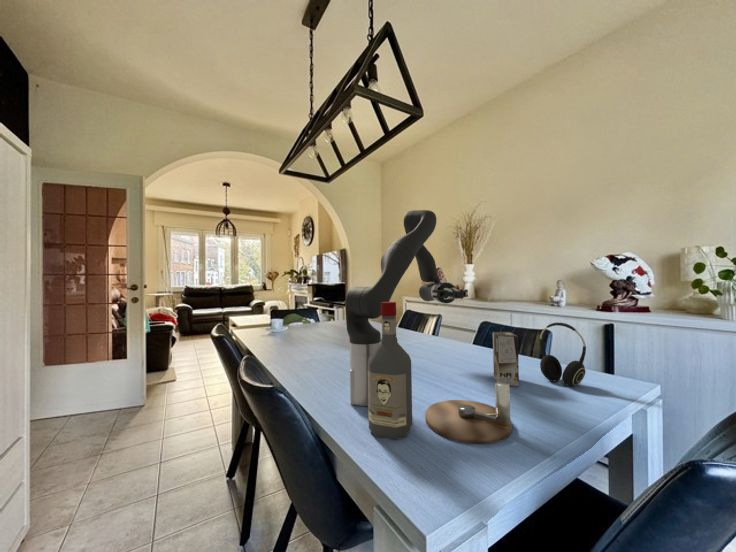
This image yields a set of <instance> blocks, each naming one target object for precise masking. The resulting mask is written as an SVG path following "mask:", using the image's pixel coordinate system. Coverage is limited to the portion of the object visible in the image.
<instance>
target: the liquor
mask: <svg viewBox="0 0 736 552" xmlns="http://www.w3.org/2000/svg"><path fill="white" fill-rule="evenodd" d="M380 317H381V344H380V345H379V346H378V348H377V349H376V350H375V351H374V353H373V354H372V355H371V356H370V358H369V360H368V406H367V407H368V412H367V413H368V429H369V430H370V432H371V433H372V435H374V437H377V438H384V439H389V440H395V441H397V440H402V439H404V438H406V437H407V435H408V433H409V432H410V429H412V425H413V388H412V387H413V384H412V383H413V382H412V380H413V379H412V377H413V376H412V359H411V357H410V354H409V353H407V351H406V350H405V349H404V348H403V346H401V344H400V343H399V342H398V340H399V339H398V338H397V319H396V317H397V302H396V301H389V302H381V316H380Z"/></svg>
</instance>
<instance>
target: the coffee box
mask: <svg viewBox="0 0 736 552" xmlns="http://www.w3.org/2000/svg"><path fill="white" fill-rule="evenodd" d="M492 353H493V355H492V356H493V357H492V358H493V378H494V380H495V381H496V382H504V383H508V384H509V386H511V387H512V386H515V387H518V386H520V383H519V381H520V378H519V376H520V374H519V370H520V368H519V336H518V335H517V334H515V333H513V332H511V331H492Z"/></svg>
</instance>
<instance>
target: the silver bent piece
mask: <svg viewBox="0 0 736 552" xmlns="http://www.w3.org/2000/svg"><path fill="white" fill-rule="evenodd" d="M510 392H511V391H510V385H509V384H508V383H504V382H497V381H496V382H495V383H494V393H495V394H494V395H495V397H494V398H495V400H494V402H495V408H496V417H495V416H491V415H487V414H483V413H479V412H475V407H473V406H471V405H459V406H458V414H459V415H460V416H461V417H464V418H473V417H474V418H478V419H481V420H485V421H489V422H492V423H496V424H500V425H503V426H505V425H509V424H510V419H511V403H510V402H511V398H510V397H511V396H510Z"/></svg>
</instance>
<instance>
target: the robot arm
mask: <svg viewBox="0 0 736 552" xmlns="http://www.w3.org/2000/svg"><path fill="white" fill-rule="evenodd" d="M436 226H437V215H436V213H435V212H433V211H432V210H429V209H422V210H421V209H419V210H418V209H417V210H409V211H407V212H406V213H405V214H404V217H403V227H404V232H405V235H403V236H400V237H399V238H397V239H395V240H394V241H392V243H391V244H389V246H388V247H387V249H385V251H384V252H383V255H382V256H381V259H380V270H381V274H380V277H379V278H378V279H377V281H376V282H375V283H374V284H373V285H372V286H354V287H351V288H350V289H349V290H348V292H346V293H347V294H346V296H345V303H344V306H345V309H344V310H345V324H346V332H347V335H348V337H349V382H350V383H349V388H350V389H349V393H350V395H349V396H350V398H349V399H350V405H356V406H358V407H359V406H360V407H368V360H369V358H370V356H371V355H372V354H373V353H374V351H375V350H376V349H377V348H378V346H379V345H380V344H381V339H382V333H381V332H380V330H378V329H377V328H375V327H374V326H373V324H371V323H370V319H371V320H374V319H379V318H381V317H382V316H381V302H391V299H392V297H393V294H394V292H395V290H396V288H397V287H398V285H399V283H400V281H401V279H402V278H403V276H404V275H405V273H406V271H407V270H408V269H409V267H410V265H411V264H412V262H413V261H414V258H415V260H416V263H417V264H416V265H417V268H418V273H419V277H420V280H421V281H422V282H424V283H425V284H423V285H421V286H420V287H419V290H418V294H419V297H420V299H421V300H423V301H424V302H432V301H433V302H434V301H435V302H439V303H442V304H451V303H453V302H454V301H455V300H457V299H464V298H469V290H468V289H466V288H465V289H458V288H456V287H455V285H454V284H453V283H450V282H444V281H443V282H442V281H441V279H440V277H439V275H438V270H437V263H436V260H435V258H434V256H433V254H432V253H431V252H430V251H429V250H428V249H427V247H426V246H425V245H424V244H425V243H426V242H427V241H428V239H429V238H430V237H431V236H432V234H433V233H434V231H435V228H436Z"/></svg>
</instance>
